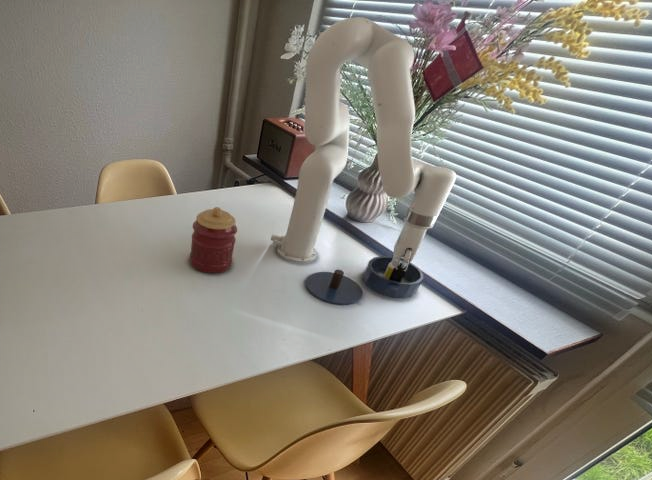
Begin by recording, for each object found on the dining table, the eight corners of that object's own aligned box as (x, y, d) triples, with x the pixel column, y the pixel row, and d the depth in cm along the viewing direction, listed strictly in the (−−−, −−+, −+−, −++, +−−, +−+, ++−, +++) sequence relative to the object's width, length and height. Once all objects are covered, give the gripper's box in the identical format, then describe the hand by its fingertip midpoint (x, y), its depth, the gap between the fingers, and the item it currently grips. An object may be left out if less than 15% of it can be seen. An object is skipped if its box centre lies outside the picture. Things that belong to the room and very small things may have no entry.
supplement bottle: (398, 289, 126) (410, 264, 121) (381, 287, 127) (393, 262, 121) (395, 281, 130) (407, 256, 124) (379, 278, 130) (390, 253, 125)
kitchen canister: (210, 279, 125) (217, 222, 113) (180, 260, 132) (184, 204, 120) (240, 265, 132) (250, 210, 120) (210, 248, 139) (217, 194, 127)
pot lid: (299, 297, 121) (305, 278, 117) (310, 270, 132) (315, 252, 128) (358, 313, 117) (366, 294, 113) (363, 283, 128) (371, 265, 124)
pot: (358, 295, 123) (365, 280, 120) (365, 262, 138) (371, 247, 134) (414, 310, 120) (423, 294, 116) (415, 275, 134) (423, 260, 130)
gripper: (406, 202, 121) (383, 256, 132) (404, 227, 109) (379, 284, 121) (435, 208, 119) (409, 262, 130) (436, 233, 107) (408, 291, 119)
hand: (395, 273), depth 126 cm, fingers open, 9 cm apart
